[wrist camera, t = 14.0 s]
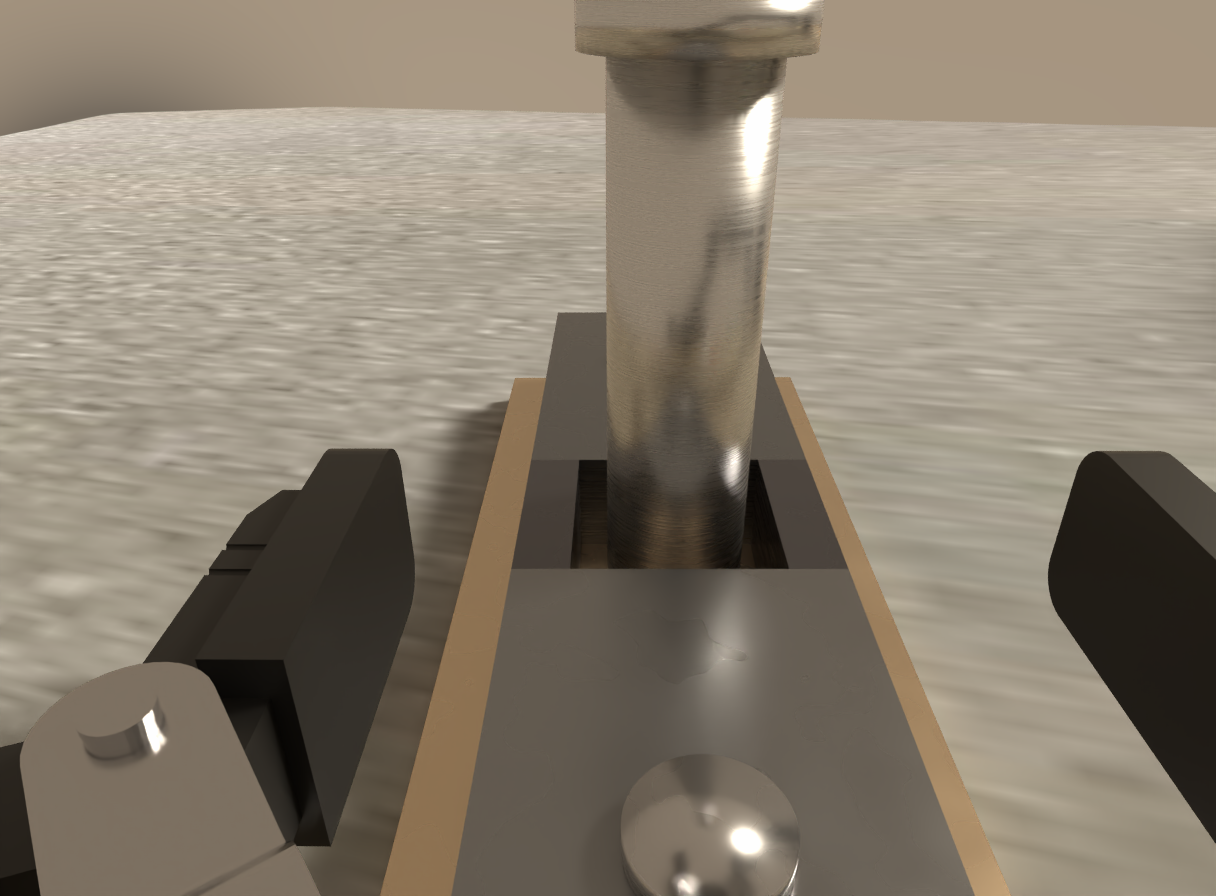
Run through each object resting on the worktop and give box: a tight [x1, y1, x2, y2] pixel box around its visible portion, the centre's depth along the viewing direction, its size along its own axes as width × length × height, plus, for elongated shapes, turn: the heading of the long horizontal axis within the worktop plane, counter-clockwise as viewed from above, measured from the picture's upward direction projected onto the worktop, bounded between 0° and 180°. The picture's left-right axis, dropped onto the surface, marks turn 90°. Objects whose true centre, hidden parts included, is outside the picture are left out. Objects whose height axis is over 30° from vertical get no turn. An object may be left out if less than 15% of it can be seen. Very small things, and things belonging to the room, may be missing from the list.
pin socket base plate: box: [380, 313, 1011, 896], centre depth 23 cm, size 30×12×5 cm, turn 179°
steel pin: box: [574, 0, 824, 569], centre depth 20 cm, size 5×5×15 cm
